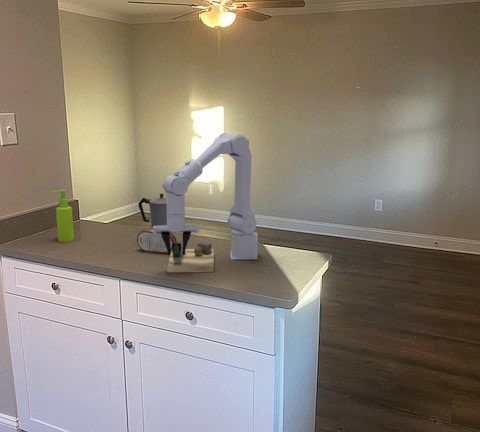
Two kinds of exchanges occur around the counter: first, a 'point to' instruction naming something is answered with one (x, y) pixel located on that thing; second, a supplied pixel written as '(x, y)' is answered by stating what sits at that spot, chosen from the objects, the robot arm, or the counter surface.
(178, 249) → the lever
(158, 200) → the moka pot
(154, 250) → the tin
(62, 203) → the soap dispenser
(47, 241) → the counter surface
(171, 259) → the light wooden flat block
